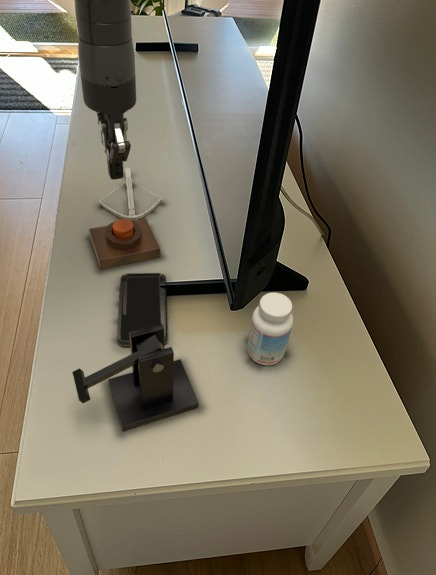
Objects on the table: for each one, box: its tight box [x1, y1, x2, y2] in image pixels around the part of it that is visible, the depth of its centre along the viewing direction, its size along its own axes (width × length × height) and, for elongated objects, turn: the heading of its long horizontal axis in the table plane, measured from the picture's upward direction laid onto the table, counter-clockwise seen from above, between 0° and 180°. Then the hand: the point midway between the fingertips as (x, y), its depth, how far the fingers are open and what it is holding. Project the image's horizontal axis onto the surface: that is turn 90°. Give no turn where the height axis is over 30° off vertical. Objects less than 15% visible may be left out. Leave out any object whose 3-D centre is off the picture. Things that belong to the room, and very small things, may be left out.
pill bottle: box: [246, 292, 294, 366], centre depth 74 cm, size 6×6×11 cm
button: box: [113, 218, 134, 239], centre depth 89 cm, size 4×4×2 cm
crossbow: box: [98, 167, 163, 221], centre depth 103 cm, size 16×13×2 cm
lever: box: [72, 335, 165, 404], centre depth 63 cm, size 12×4×2 cm, turn 112°
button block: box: [88, 218, 161, 270], centre depth 91 cm, size 11×9×4 cm
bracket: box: [107, 323, 199, 432], centre depth 67 cm, size 11×8×13 cm
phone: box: [116, 272, 169, 348], centre depth 82 cm, size 8×1×15 cm
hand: (116, 176), depth 81 cm, fingers closed
